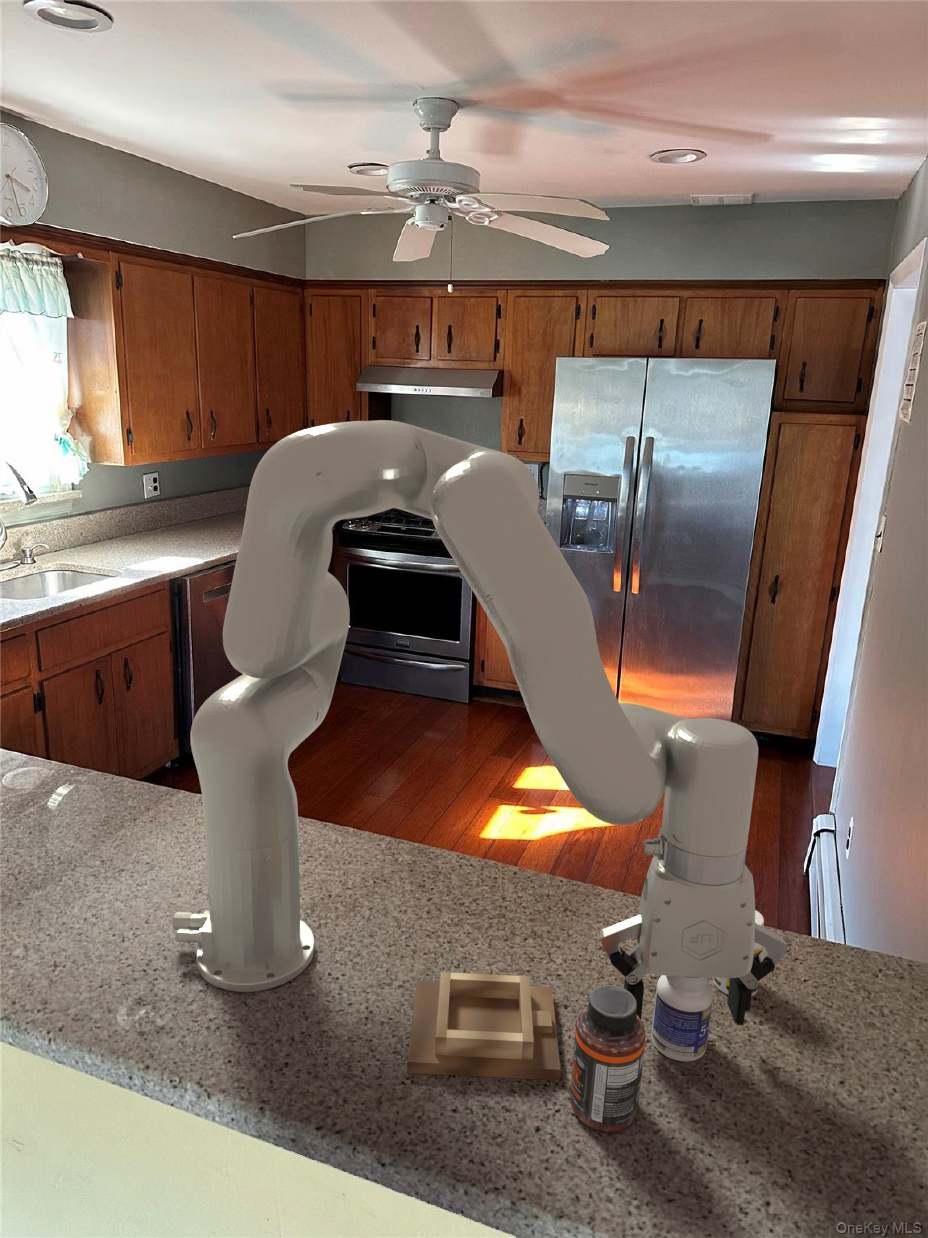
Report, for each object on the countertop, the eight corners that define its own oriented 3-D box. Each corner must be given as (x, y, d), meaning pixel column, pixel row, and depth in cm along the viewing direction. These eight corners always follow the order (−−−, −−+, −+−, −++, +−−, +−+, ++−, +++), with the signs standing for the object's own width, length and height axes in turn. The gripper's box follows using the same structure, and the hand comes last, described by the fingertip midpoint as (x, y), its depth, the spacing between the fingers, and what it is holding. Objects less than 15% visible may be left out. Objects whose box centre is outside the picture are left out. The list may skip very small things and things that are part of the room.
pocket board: (406, 1072, 78) (407, 1043, 77) (416, 990, 88) (417, 964, 88) (559, 1080, 78) (561, 1051, 77) (551, 997, 88) (553, 971, 87)
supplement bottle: (563, 1082, 77) (571, 976, 74) (626, 1079, 78) (637, 974, 75) (576, 1138, 72) (586, 1025, 69) (645, 1135, 72) (658, 1023, 69)
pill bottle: (708, 1068, 80) (718, 987, 77) (651, 1058, 81) (660, 978, 78) (704, 1028, 85) (714, 951, 82) (650, 1019, 86) (659, 943, 83)
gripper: (612, 873, 74) (599, 1037, 78) (812, 880, 73) (788, 1045, 78) (601, 830, 81) (590, 983, 85) (783, 836, 81) (762, 990, 85)
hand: (684, 1012), depth 82 cm, fingers open, 9 cm apart
